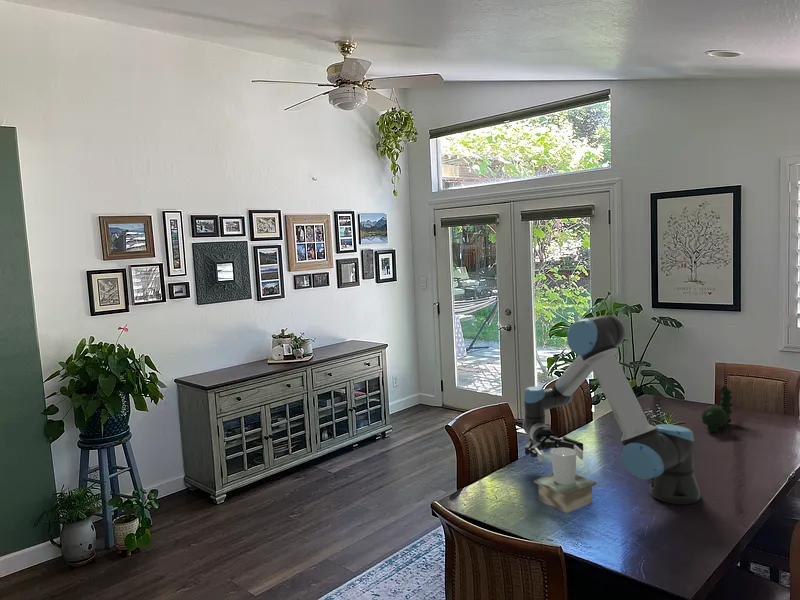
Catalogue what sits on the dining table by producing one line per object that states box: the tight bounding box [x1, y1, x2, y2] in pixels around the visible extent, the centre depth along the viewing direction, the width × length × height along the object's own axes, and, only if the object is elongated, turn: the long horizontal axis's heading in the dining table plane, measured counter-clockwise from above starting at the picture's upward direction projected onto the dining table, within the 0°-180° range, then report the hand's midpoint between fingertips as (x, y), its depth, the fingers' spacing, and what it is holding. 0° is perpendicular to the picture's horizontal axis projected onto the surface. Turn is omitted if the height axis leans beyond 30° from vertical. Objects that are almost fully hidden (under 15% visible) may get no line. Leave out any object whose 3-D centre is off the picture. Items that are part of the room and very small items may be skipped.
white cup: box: [551, 448, 577, 485], centre depth 193 cm, size 8×8×10 cm
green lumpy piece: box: [701, 384, 733, 433], centre depth 256 cm, size 9×19×25 cm
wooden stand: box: [533, 472, 597, 514], centre depth 193 cm, size 14×14×7 cm
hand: (561, 457), depth 194 cm, fingers open, 13 cm apart
